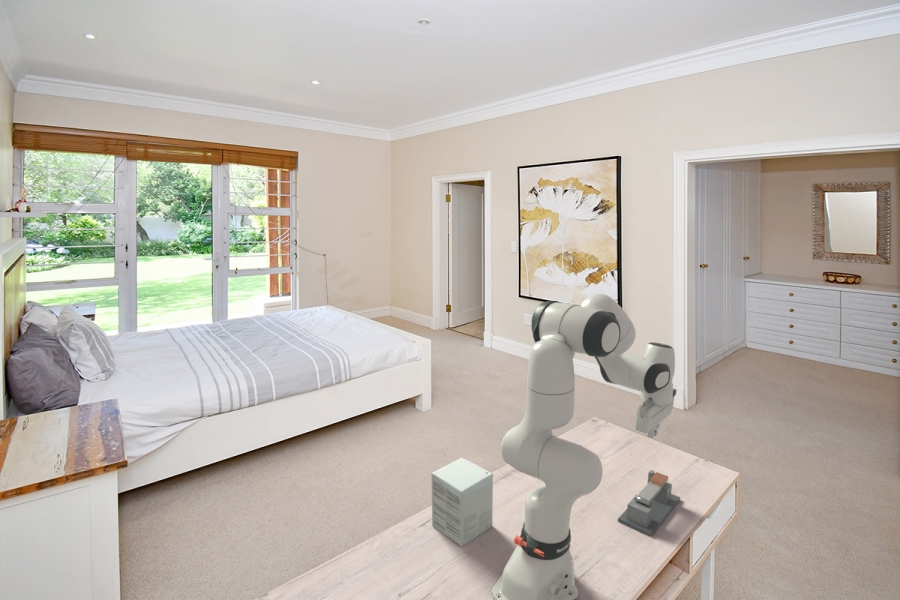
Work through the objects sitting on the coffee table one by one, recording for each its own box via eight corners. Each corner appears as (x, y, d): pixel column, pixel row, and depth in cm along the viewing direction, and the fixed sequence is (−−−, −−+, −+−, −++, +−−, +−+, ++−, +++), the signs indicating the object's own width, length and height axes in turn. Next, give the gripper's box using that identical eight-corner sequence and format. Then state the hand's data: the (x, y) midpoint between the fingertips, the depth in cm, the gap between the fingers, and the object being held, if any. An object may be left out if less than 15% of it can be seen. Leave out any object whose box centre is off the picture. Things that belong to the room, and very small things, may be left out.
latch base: (651, 537, 136) (653, 509, 134) (617, 521, 143) (619, 494, 141) (680, 500, 153) (682, 474, 151) (649, 487, 160) (651, 463, 158)
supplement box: (462, 506, 151) (462, 456, 147) (493, 526, 141) (493, 473, 138) (431, 525, 142) (430, 472, 138) (461, 547, 132) (461, 491, 129)
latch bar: (648, 507, 140) (648, 500, 139) (633, 501, 143) (634, 494, 142) (669, 482, 151) (669, 476, 151) (655, 477, 154) (655, 470, 154)
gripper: (652, 407, 135) (648, 451, 137) (678, 388, 149) (674, 428, 152) (631, 400, 139) (627, 444, 142) (658, 383, 153) (655, 422, 156)
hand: (652, 436), depth 147 cm, fingers closed
